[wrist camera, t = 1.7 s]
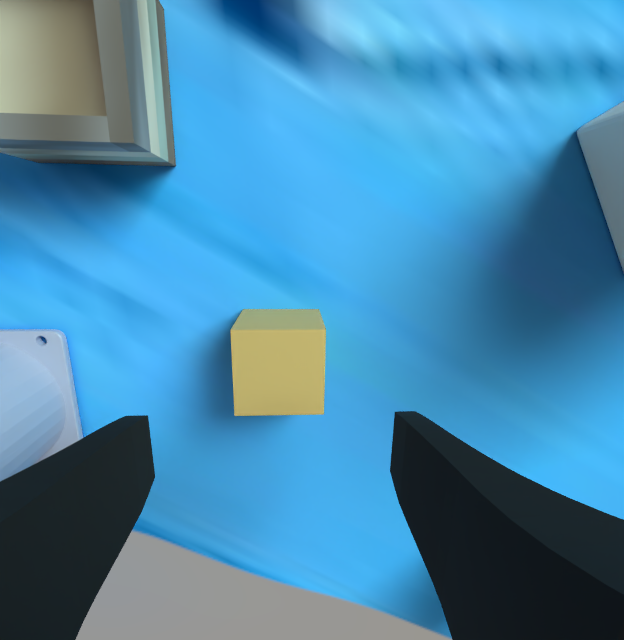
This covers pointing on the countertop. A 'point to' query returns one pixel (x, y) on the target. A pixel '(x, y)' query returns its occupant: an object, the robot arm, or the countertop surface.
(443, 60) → the countertop surface
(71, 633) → the robot arm
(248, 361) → the ochre block
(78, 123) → the tower base
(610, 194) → the soap bottle
